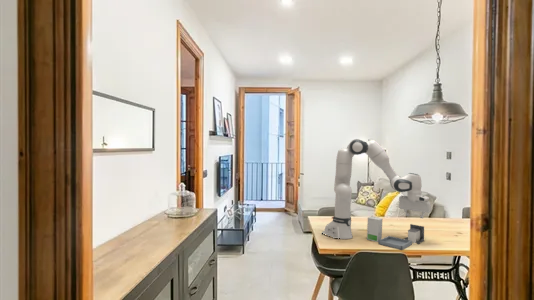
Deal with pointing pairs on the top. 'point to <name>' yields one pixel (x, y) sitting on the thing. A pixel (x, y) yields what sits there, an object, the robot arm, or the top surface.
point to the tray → (395, 242)
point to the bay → (420, 232)
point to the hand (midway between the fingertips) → (414, 217)
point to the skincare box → (374, 229)
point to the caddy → (414, 235)
